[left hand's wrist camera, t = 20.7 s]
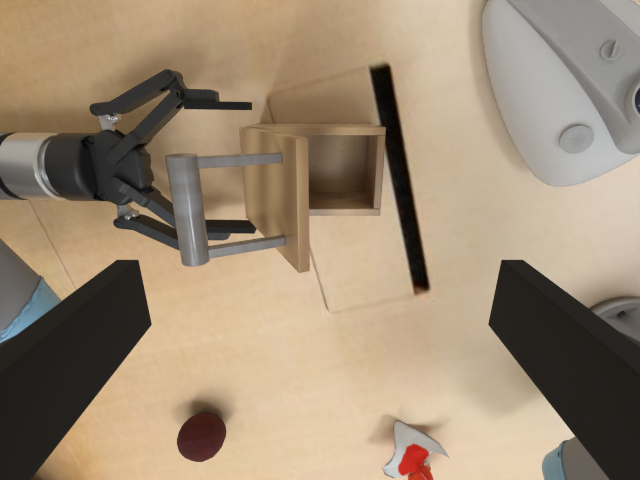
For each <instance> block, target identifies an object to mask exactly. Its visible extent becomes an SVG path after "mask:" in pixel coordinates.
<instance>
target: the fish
mask: <svg viewBox="0 0 640 480" xmlns="http://www.w3.org/2000/svg"><path fill="white" fill-rule="evenodd" d="M394 439H395V453H394V456H393V457H392V459H391V460H390V462H389V463H388V464H387V465H386V466H384V467H381V468H382V469H383V471H384V473H385V475H387V476H390V477H392V478H399V477H403V476H407V475H408V480H433V477H432V474H431V472H430V470H431V468H430V464H429V461H426V459H427V458H428V456H429V455H430V454H431V453H432V452H437V453H440V454H443V455H445V456H447V457H449V456H448V455H447V453H446V452H445V451H444V449H443V448H442V446H441V445H440V443H438V442H437V441H435V440H434V439H433V438H431V437H430V436H428V435H427V434H425V433H423V432H421V431H419V430H417V429H415V428H412V427H410V426H408V425H406V424H404V423H402V422H400V421H396V422H395V425H394ZM425 461H426V462H425ZM424 463H425V465H423V464H424Z"/></svg>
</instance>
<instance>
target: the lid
mask: <svg viewBox="0 0 640 480" xmlns="http://www.w3.org/2000/svg"><path fill="white" fill-rule="evenodd" d="M239 131H240V143H241V154H237V155H218V156H198V157H197V155H196V154H173V155H167V156H166V157H165V158H166V164H167V170H168V177H169V183H170V190H171V196H172V203H173V209H174V216H175V222H176V229H177V235H178V241H179V248H180V254H181V261H182V264H183V265H185V266H200V265H203V264H206V263H207V262H209V260H210V258H215V257H221V256H227V255H233V254H239V253H245V252H251V251H257V250H263V249H268V248H274V247H275V248H276V249H277V250H278V251H279V252H280V253H281V254H282V256H283V257H284V258H285V259H286V260H287V261H288V262H289V263H290V264H291V265H292V266H293V267H294V268H295V269H296V270H297V271H298V272H299V273H302V272H306V271H309V174H308V138H305V137H300V136H294V135H289V134H283V133H277V132H272V131H266V130H260V129H255V128H249V127H239ZM232 166H242V169H243V182H244V195H245V208H246V217H247V219H248V220H249V221H250V222H251V223H252V224H253V225H254V226H255V227H256V228H257V229H258V230H259V231H260V232H261V233H262V234H263V235H264V236H265V238H259V239H252V240H246V241H239V242H233V243H226V244H220V245H213V246H208V239H207V231H206V223H205V215H204V207H203V199H202V190H201V182H200V174H199V169H201V168H216V167H232Z"/></svg>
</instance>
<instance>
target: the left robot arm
mask: <svg viewBox="0 0 640 480" xmlns="http://www.w3.org/2000/svg"><path fill="white" fill-rule="evenodd" d="M151 325H152V324H151V319H150V314H149V310H148V305H147V300H146V295H145V290H144V285H143V280H142V276H141V271H140V266H139V261H138V260H116V261H115V262H114V263H112V264H111V265H110V266H108V267H107V268H106V269H104V270H103V271H102V272H100V273H99V274H98V275H96V276H95V277H94V278H92V279H91V280H90V281H88V282H87V283H85V284H84V285H83V286H81V287H80V288H79V289H77V290H76V291H75V292H73V293H72V294H71V295H69V296H68V297H67V298H65V299H64V300H63V301H61V302H60V303H59V304H57V305H56V306H55V307H53V308H52V309H51V310H49V311H48V312H46V313H45V314H44V315H42V316H41V317H40V318H38V319H37V320H36V321H34V322H33V323H32V324H30V325H29V326H28V327H26V328H25V329H24V330H22V331H21V332H20V333H18V334H17V335H15V336H13V337H11V338H9V339H7V340H5V341H3V342H1V343H0V480H31V478H32V477H33V476H34V475H35V473H36V472H37V471H38V469H39V468H40V467H41V466H42V464H43V463H44V462H45V460H46V459H47V458H48V457H49V455H50V454H51V453H52V451H53V450H54V449H55V448H56V446H57V445H58V444H59V443H60V441H61V440H62V439H63V437H64V436H65V435H66V434H67V432H68V431H69V430H70V428H71V427H72V426H73V425H74V423H75V422H76V421H77V419H78V418H79V417H80V416H81V414H82V413H83V412H84V411H85V409H86V408H87V407H88V405H89V404H90V403H91V402H92V400H93V399H94V398H95V396H96V395H97V394H98V393H99V391H100V390H101V389H102V387H103V386H104V385H105V384H106V382H107V381H108V380H109V379H110V377H111V376H112V375H113V373H114V372H115V371H116V370H117V368H118V367H119V366H120V364H121V363H122V362H123V361H124V359H125V358H126V357H127V355H128V354H129V353H130V352H131V350H132V349H133V348H134V347H135V345H136V344H137V343H138V341H139V340H140V339H141V338H142V336H143V335H144V334H145V332H146V331H147V330H148V329H149V327H150V326H151ZM488 325H489V326H490V327H491V329H492V330H493V331H494V332H495V334H496V335H497V336H498V338H499V339H500V340H501V341H502V343H503V344H504V345H505V347H506V348H507V349H508V350H509V352H510V353H511V354H512V355H513V357H514V358H515V359H516V361H517V362H518V363H519V364H520V366H521V367H522V368H523V370H524V371H525V372H526V373H527V375H528V376H529V377H530V379H531V380H532V381H533V382H534V384H535V385H536V386H537V387H538V389H539V390H540V391H541V393H542V394H543V395H544V396H545V398H546V399H547V400H548V402H549V403H550V404H551V405H552V407H553V408H554V409H555V411H556V412H557V413H558V414H559V416H560V417H561V418H562V419H563V421H564V422H565V423H566V425H567V426H568V427H569V428H570V430H571V431H572V432H573V434H574V435H575V437H574V438H572V439H570V440H565V441H563V442H562V443H561V444H560V445H559V447H557V448H556V449H554V450H553V451H551V452H550V453H548V454H547V455H546V456H545V458H544V459H543V462H542V471H543V476H544V479H545V480H640V298H635V297H622V298H616V299H612V300H608V301H606V302H603V303H601V304H598V305H597V306H595V307H593V308H591V309H590V310H589V309H588V308H587V307H585V306H584V305H583V304H581V303H580V302H579V301H577V300H576V299H575V298H573V297H572V296H571V295H569V294H568V293H567V292H565V291H564V290H563V289H561V288H560V287H559V286H557V285H556V284H555V283H553V282H552V281H550V280H549V279H548V278H546V277H545V276H544V275H542V274H541V273H540V272H538V271H537V270H536V269H534V268H533V267H532V266H530V265H529V264H528V263H526V262H525V261H524V260H502V261H501V266H500V271H499V276H498V280H497V285H496V290H495V295H494V300H493V305H492V310H491V314H490V319H489V324H488Z"/></svg>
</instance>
